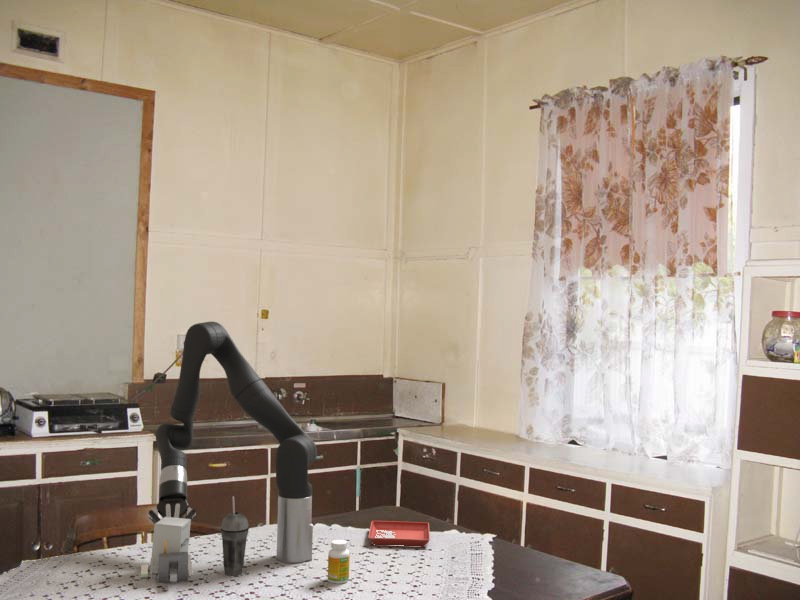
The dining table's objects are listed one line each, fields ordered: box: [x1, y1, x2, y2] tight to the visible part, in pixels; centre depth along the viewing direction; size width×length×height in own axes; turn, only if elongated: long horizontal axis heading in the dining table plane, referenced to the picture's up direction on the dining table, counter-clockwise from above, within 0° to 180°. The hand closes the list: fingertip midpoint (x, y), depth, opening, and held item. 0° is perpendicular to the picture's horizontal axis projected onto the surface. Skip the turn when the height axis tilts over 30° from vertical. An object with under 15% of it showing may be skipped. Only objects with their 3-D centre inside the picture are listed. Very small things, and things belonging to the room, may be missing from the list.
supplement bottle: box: [327, 539, 351, 585], centre depth 195 cm, size 5×5×10 cm
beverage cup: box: [220, 495, 250, 577], centre depth 198 cm, size 7×7×20 cm
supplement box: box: [149, 517, 192, 575], centre depth 198 cm, size 7×7×13 cm
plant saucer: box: [367, 520, 431, 548], centre depth 232 cm, size 18×18×3 cm
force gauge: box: [140, 551, 194, 584], centre depth 199 cm, size 13×20×6 cm, turn 17°
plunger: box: [164, 541, 178, 582], centre depth 189 cm, size 5×10×8 cm, turn 17°
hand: (171, 543), depth 203 cm, fingers closed
